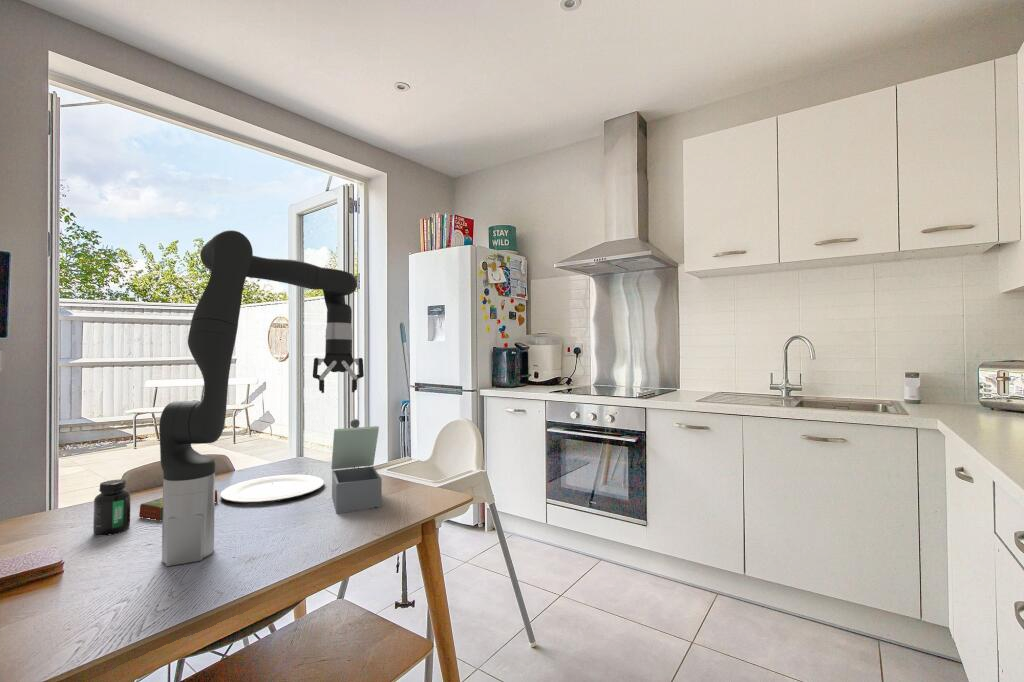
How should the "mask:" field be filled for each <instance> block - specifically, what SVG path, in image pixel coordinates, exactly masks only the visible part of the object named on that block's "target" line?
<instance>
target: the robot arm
mask: <svg viewBox="0 0 1024 682" xmlns="http://www.w3.org/2000/svg"><path fill="white" fill-rule="evenodd" d="M253 253H254V251H253V246H252V244H251V241H250V240H249V239H248V237H247V236H246V235H245V234H243V233H242V232H240V231H238V230H234V229H232V230H231V229H229V230H223V231H222V232H219V233H217V234H215V235H214V236H213V237H212V238H210V240H208V241H207V242H206V243H205V244H204V245H203V247H201V250H200V253H199V255H200V260H201V262H202V264H203V265H204V267H205V268H206V269H208V270H209V271H210V276H209V279H208V281H207V284H206V286H205V289H204V290H203V291H202V294H201V296H200V299H199V300H198V303H197V304H196V307H195V309H194V312H193V315H192V316H191V317H192V318H191V323H190V326H189V331H188V337H187V346H188V349H189V352H190V354H191V355H192V358H193V360H194V361H195V363H196V365H197V367H198V368H199V371H200V372H201V375H202V378H203V386H204V387H203V396H202V400H184V401H183V400H180V401H178V400H177V401H172V402H169V403H168V404H166V405H165V407H164V408H163V410H162V412H161V415H160V419H159V425H158V427H159V428H158V429H159V433H158V434H159V436H158V437H159V449H160V450H159V452H160V453H159V454H160V465H161V470H162V473H163V481H162V483H163V484H162V485H163V486H162V498H163V521H161V522H162V527H161V528H162V530H161V533H162V534H161V562H162V563H163V564H165V566H166V567H172V566H175V565H176V566H177V565H182V564H188V563H189V564H190V563H194V562H201V561H202V560H203V559H204V558H207V557H209V555H211V554H213V553H214V551H215V505H216V503H215V490H216V488H215V487H216V461H215V459H213V458H211V457H209V456H206V455H203V454H201V453H199V452H198V451H196V450H195V449H194V448H193V446H192V445H194V444H195V445H197V444H198V445H199V444H203V445H204V444H213V443H215V442H217V441H218V440H219V439H220V437H221V435H222V434H223V431H224V429H225V428H224V427H225V424H226V423H225V422H226V415H227V414H226V413H227V404H228V403H227V402H228V388H229V379H230V370H231V365H232V360H233V359H232V358H233V354H234V349H235V345H236V341H237V340H236V339H237V333H238V327H239V319H240V313H241V309H242V308H241V307H242V302H243V301H242V298H243V293H244V292H243V291H244V286H245V282H246V280H247V278H253V279H259V280H265V281H266V280H267V281H272V282H278V283H283V284H288V285H292V286H297V287H299V288H305V289H309V290H316V291H317V290H322V292H323V298H324V302H325V306H326V327H325V336H324V337H325V349H324V350H325V351H324V352H325V353H324V354H325V356H324V358H319V357H314V359H313V368H312V378H314V379H316V380H318V390H319V392H321V394H324V393H325V380H324V379H325V378H326V377H327V376H328V374H329V373H330V372H332V373H338V372H339V373H345V372H347V373H348V375H350V377H351V378H352V379H351V393H355V391H357V390H358V381H359V379H362V378H363V377H364V376H365V375H364V372H365V371H364V359H363V357H359V358H354V357H353V327H352V326H353V325H352V321H353V320H352V317H353V316H352V315H353V314H352V313H353V312H352V311H353V310H352V307H351V305H349V304H346V298H345V296H349V295H352V294H353V293H354V292H355V291H356V290H357V287H358V283H357V280H356V278H355V276H353V274H351V273H350V272H348V271H345V270H341V269H336V268H335V269H334V268H328V267H322V266H318V265H315V264H312V263H309V262H305V261H301V260H298V259H289V258H288V259H287V258H271V257H263V256H257V255H253ZM322 363H324V365H325V366H326V368H325V369H324V371H323V372H322V373H321V374H318V368H319V366H320V365H322ZM354 363H355V365H356V366H357V367H358V369H357V370H358V374H357V373H355V372H354V370H353V369H352V368H351V366H352V365H353V364H354Z"/></svg>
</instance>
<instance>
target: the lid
mask: <svg viewBox="0 0 1024 682" xmlns="http://www.w3.org/2000/svg"><path fill="white" fill-rule="evenodd" d="M359 426H360V420H358V419H357V418H354V419H351V420H350V427H347V428H346V427H345V428H334V429H333V439H332V440H333V442H332V453H331V454H332V456H331V466H330V467H331V468H330V469H331V471H333V470H342V469H352V468H362V467H371V466H373V467H374V464H375V457H376V449H377V443H378V438H379V430H380V429H379V428H380V427H379V425H377V426H376V425H374V426H363V427H362V426H361V427H359Z"/></svg>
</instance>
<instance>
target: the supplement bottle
mask: <svg viewBox="0 0 1024 682" xmlns="http://www.w3.org/2000/svg"><path fill="white" fill-rule="evenodd" d="M126 484H127V483H126V479H122V478H121V479H112V480H106V481H103V482H100V483H99V490H98V492H100V493H99V494H98V495H96V496H95V497H94V500H93V526H92V527H93V531H92V533H93V535H94V536H97V535H98V537H100V536H99V535H106V536H110V535H109V534H112V535H116V534H115V533H117V534H119V532H120V533H123V532H125V531H127V530H128V529H129V528H130V526H131V501H132V500H131V492H130V491H128V490H126V488H127V485H126ZM126 529H127V530H126ZM124 530H125V531H124ZM122 531H123V532H122Z"/></svg>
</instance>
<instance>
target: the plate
mask: <svg viewBox="0 0 1024 682" xmlns="http://www.w3.org/2000/svg"><path fill="white" fill-rule="evenodd" d="M272 483H273V484H272ZM324 484H325V480H324V479H323V478H321V477H318V476H317V475H316V476H315V475H308V474H282V475H272V476H264V477H259V478H253V479H248V480H245V481H240V482H238V483H236V484H235V483H234V484H232V485H229V486H228V487H226V488H224V489H223V490H222V491H221V492H220V498H222V499H223V500H224V501H227V502H232V503H242V504H249V503H250V504H259V503H260V502H264V503H272V502H271V501H274V502H278V500H281V501H285V499H286V500H290V499H294V498H298V497H301V496H305V495H308V494H311V493H313V492H315V491H317V490H319V489H320V488H322V487H323V486H324ZM289 498H290V499H289ZM260 504H261V503H260Z"/></svg>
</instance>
